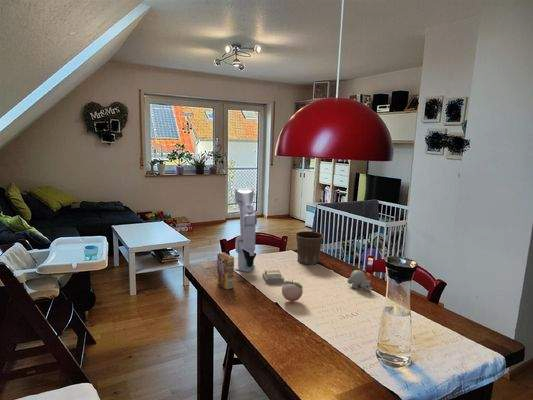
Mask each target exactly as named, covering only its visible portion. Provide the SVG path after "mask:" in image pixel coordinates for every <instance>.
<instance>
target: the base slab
mask: <svg viewBox="0 0 533 400" xmlns="http://www.w3.org/2000/svg"><path fill="white" fill-rule="evenodd" d="M261 276H262V278H263V280H264V282H265V284H266V285H267V284H270V285H271V284H281V283H282V284H284V283H283V282H284V281H285V278H284V276H283V275H282V274H281V278H278V279H267V278H266V275H265V272H262V275H261Z"/></svg>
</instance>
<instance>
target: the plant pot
mask: <svg viewBox="0 0 533 400" xmlns="http://www.w3.org/2000/svg"><path fill="white" fill-rule="evenodd" d="M295 237H296V238H295V239H296V245H297V246H296V247H297V261H298V263H300V264H304V265H306V264H307V265H308V266H309V265H311V266H314V265H316V264H318V263H319V261H320V255H321V247H322V243H323V240H324V239H323V238H324V237H325V235H324V234H323V233H320V232H316V231H310V230H309V231H307V230H306V231H303V230H302V231H297V232H296V233H295Z"/></svg>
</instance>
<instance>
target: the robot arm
mask: <svg viewBox="0 0 533 400" xmlns="http://www.w3.org/2000/svg"><path fill="white" fill-rule="evenodd" d="M254 194H255V191H254V188H253V187H247V188H245V187H243V188H241V187H236V188H235V189H234V202H235V204H236V205H238V207H239V228H240V229H239V231H240V234H239V236H237V237H236V238H235V244H234V245H235V247H234V248H235V252H236V253H237V267H234V271H235V270H236V271H240V272H241V271H242V272H248V273H249V272H250V271H251V270H252V269H249V270H245V268H244V259H246V260H247V266H248V267H252V265H253V261H254V262H255V258H256V257H257V253H256V252H255V251H256V226H257V223H258V217H257V214H256V213H255V211H254V206H253V204H252V203H253V202H254V201H253V200H254ZM254 267H255V264H254Z"/></svg>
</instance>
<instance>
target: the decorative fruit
mask: <svg viewBox="0 0 533 400" xmlns="http://www.w3.org/2000/svg"><path fill="white" fill-rule="evenodd" d="M281 287H282V288H281V294H282V296H283V298H284V299H285V300H287V301H288V302H289V301H290V302H291V303H292V302H296V301H298V300H299V299H300V298H301V297H302V295H303V294H304V293H303V291H304V290H303V289H304V287H303V285H302V284H301V283H300V282H296V281H295V282H294V280H293V279H292V281H291V280H284V282H283V283H282V286H281Z"/></svg>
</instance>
